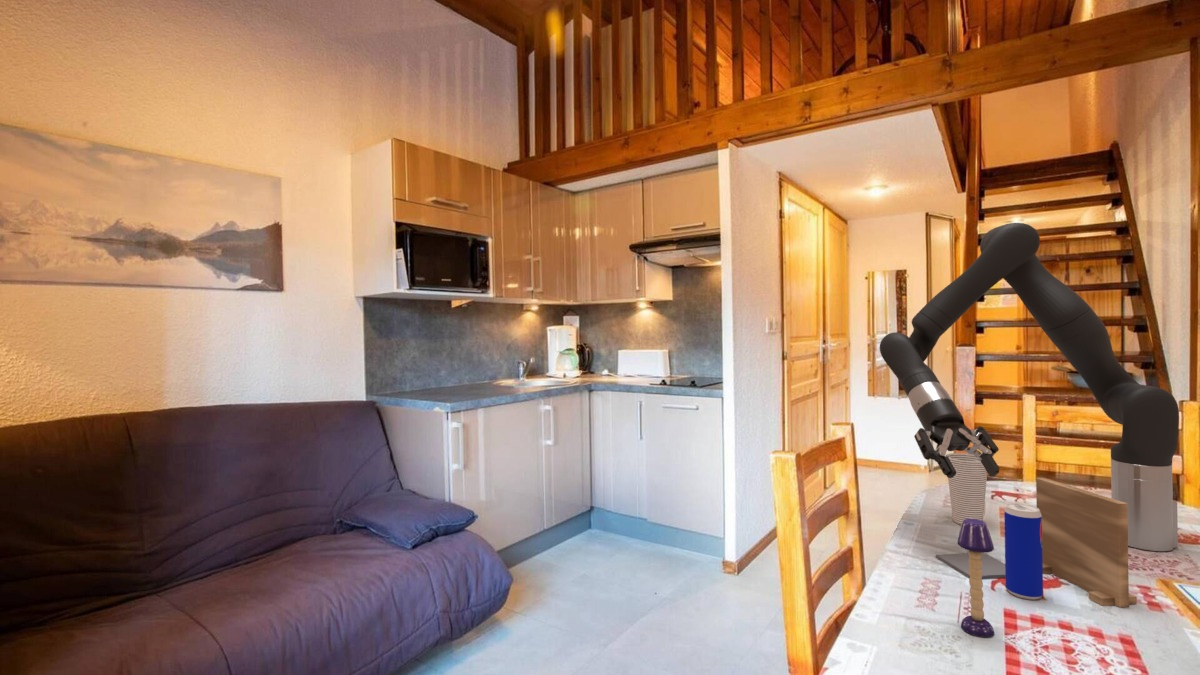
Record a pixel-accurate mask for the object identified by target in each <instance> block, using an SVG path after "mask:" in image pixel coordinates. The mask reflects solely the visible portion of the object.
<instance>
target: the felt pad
mask: <svg viewBox="0 0 1200 675" xmlns="http://www.w3.org/2000/svg"><path fill="white" fill-rule="evenodd" d="M935 558H936V559H937V560H939V561H941V562H942V563H944V564H946V565H947V566H949V567H950V568H952V569H954V570H955V571H956V572H958V573H960V574H962V575H963V576H965V577H966V578H968V579H970V575H969V568H970V566H969V558H970V556H969V553H968V552H963V553H962V552H959V553H940V554H939V553H938V554H935ZM981 561H982V567H981V570H982V578H981V579H982V580H988V579H1005V562H1002V561H1000V560H999V559H997V558H995V557H993V556H992V555H990V554H988V553H987V552H985V553H984V552H982V557H981Z"/></svg>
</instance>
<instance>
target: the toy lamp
mask: <svg viewBox="0 0 1200 675" xmlns="http://www.w3.org/2000/svg"><path fill="white" fill-rule="evenodd" d="M959 530H960V531H959V534H958V537H957V545H958V546H959V548H962V549H964V550H967V551H968V552H967V553H969V556H970V558H969V566H970V568H969V575H970V578H968V580H969V581H968V583H969V584H968V585H969V586H970V588H969V596H970V599H969V600H970V601H969V603H970V607H971V608H970V615H968V616H965V617H964V618H963V619H962V620H961V622H960V628H961V629H962V630H963V631H964V632H965V633H967V634H969V635H973V636H976V637H982V638H991V637H993V636H994V635H995V630H994V628H993V625H992V624H991V622H990V621H988V620H987V619H986V618H985V613H984V610H983V609H984V606H985V605H984V600H983V598H984V592H983V591H984V590H983V586H984V584H983V579H981V578H982V570H981V567H982V561H981V557H982V552H984V553H991V552H993V551H994V550H995V546H994V542H993V540H992V536H991V534H990V530H989V526H988V525H987V523H986V522H985V521H984V520H983V521H981V520H977V519H965V520H964V521H963V523H962V525H961V527H960V529H959Z"/></svg>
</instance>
